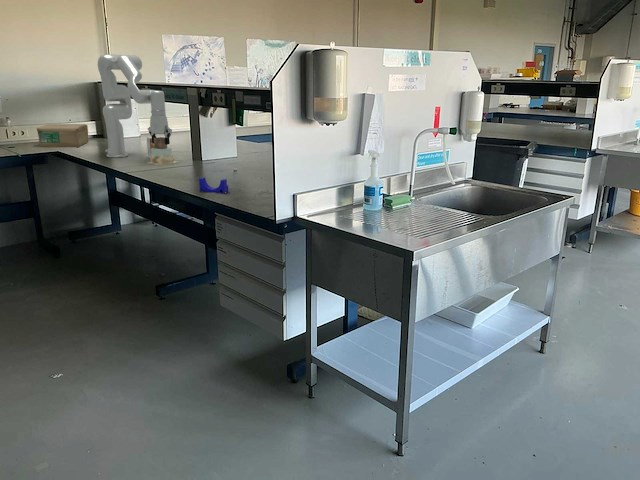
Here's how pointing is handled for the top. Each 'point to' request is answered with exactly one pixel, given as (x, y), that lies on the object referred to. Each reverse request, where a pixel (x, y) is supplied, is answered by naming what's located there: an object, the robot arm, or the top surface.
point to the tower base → (161, 159)
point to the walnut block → (159, 143)
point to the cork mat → (163, 164)
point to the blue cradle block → (206, 188)
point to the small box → (149, 145)
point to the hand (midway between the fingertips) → (160, 143)
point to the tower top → (161, 152)
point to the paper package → (62, 135)
